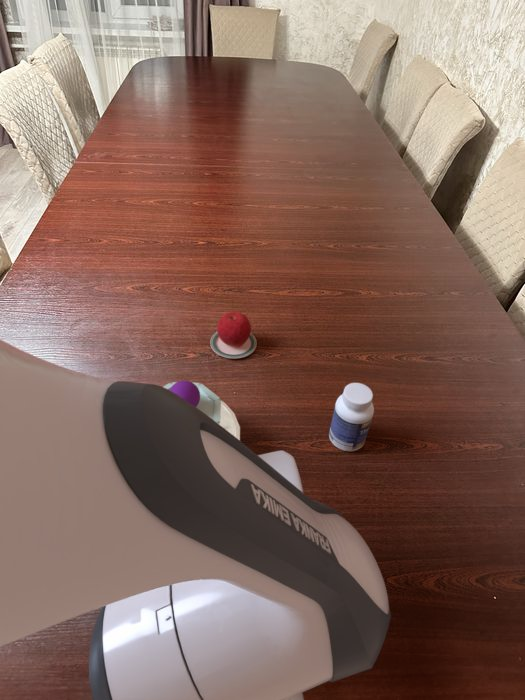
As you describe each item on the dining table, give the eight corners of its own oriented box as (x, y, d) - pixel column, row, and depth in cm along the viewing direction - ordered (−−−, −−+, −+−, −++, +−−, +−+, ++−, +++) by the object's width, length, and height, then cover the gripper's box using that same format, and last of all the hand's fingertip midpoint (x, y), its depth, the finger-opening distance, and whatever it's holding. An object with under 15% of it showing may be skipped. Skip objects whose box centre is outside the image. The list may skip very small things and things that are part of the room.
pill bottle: (360, 457, 75) (374, 412, 68) (324, 445, 76) (334, 400, 69) (368, 430, 78) (381, 385, 72) (333, 419, 80) (344, 374, 73)
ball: (161, 412, 49) (163, 386, 47) (174, 396, 51) (178, 371, 50) (190, 422, 48) (194, 396, 47) (202, 405, 51) (206, 380, 49)
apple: (202, 352, 89) (201, 322, 84) (222, 325, 94) (222, 296, 90) (245, 366, 87) (247, 336, 83) (263, 337, 93) (265, 308, 88)
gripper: (330, 519, 45) (280, 402, 54) (82, 581, 40) (76, 440, 49) (320, 554, 49) (276, 440, 59) (95, 614, 44) (87, 478, 54)
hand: (183, 440), depth 54 cm, fingers closed on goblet, 3 cm apart
